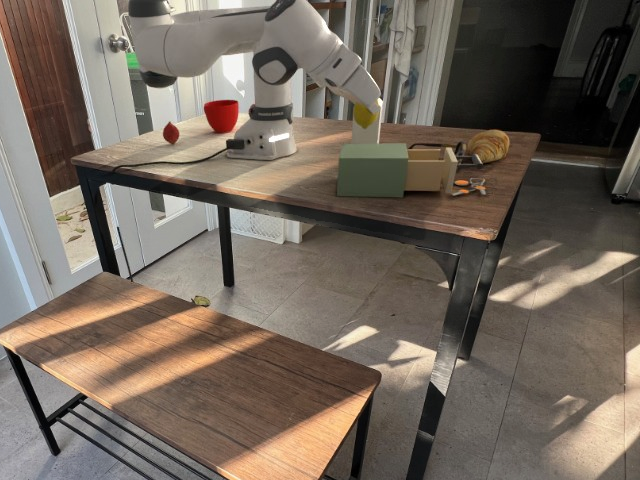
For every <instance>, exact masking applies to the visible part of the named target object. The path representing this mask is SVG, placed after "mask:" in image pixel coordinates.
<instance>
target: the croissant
mask: <svg viewBox="0 0 640 480" xmlns="http://www.w3.org/2000/svg"><path fill="white" fill-rule="evenodd" d="M509 147H510V137H509V136H508V134H506V133H505V132H504V131H502V130H501V129H489V130H483V131H482V132H479V133H477V134H475V135H474V136H473V137H472V138H471V139H470V140H468V143H467V149H468V153H469V156H472V155H473V154H477V155H478V157H479V159H480V160H481V162H482V164H486V163H491V162H497V161H499V160H501V159H504V158H505V157H507V154H508V151H509Z"/></svg>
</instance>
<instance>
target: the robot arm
mask: <svg viewBox="0 0 640 480" xmlns="http://www.w3.org/2000/svg"><path fill="white" fill-rule="evenodd" d="M127 6H128V7H127V12H128V16H129V24H130V33H131V42H132V45H133V48H134V54H135V58H136V61H137V64H138V65H137V66H138V68H139V71H138V72H139V75H140V78H141V81H142V82H143V83H144V85H146V86H147V87H149V88H154V89H165V88H168V87H171V86H173V85H174V84H175V83H176V82H177V80H178V78H187V79H189V78H195V77H200V76H202V75H204V74H205V73H207V72H208V71H209V70H210V69H211V68H212V67H213V65H214V64H215V63H216V62H217V61H218V60H219V59H220V58H221V57H222V56H233V55H239V54H240V55H241V54H248V53H252V54H253V55H252V56H253V57H252V58H251V65H252V68H253V90H254V91H253V92H254V103H253V104H251V105H250V107H249V108H248V117H249V119H248V120H247V121H246V122H244V123H243V124H242V125H241V126H240V127H239V128H238V129H237V130H236V131H235V132H234V135H233V138H228V139H226V140H225V148H223V149H221V150H219V151H217V152H215V153H214V154H212V155H210V156H206V157H204V158H200V159H196V160H191V161H190V160H189V161H166V160H164V161H163V160H162V161H160V160H159V161H151V162H150V161H149V162H148V161H147V162H143V163H136V164H135V163H134V164H120V165H117V166H115V167H114V168H113V169H112V170H111V171H110V173H111V174H113V173H115V172H116V171H117V170H118V169H121V168H138V167H144V166H151V165H162V164H163V165H164V164H165V165H175V166H176V165H177V166H179V165H180V166H181V165H190V164H197V163H202V162H205V161H209V160H210V159H213V158H215V157H217V156H219V155H220V154H222V153H224V152H226V157H227V158H230V159H246V160H259V161H260V160H261V161H272V160H276V159H279V158H283V157H286V156H291V155H293V154H295V153H296V152H297V151H298V148H297V146H296V141H295V136H294V128H293V121H294V103H293V102H292V78H293V76H294V75H295V74H296V72H297V71H298V70H301V69H303V71H304V72H305V73H306V74H307V75H308V76H309V77H310V78H311V79H312V81H313V82H314V83H315V84H316V85H317V86H318V87H319V88H327V89H329V90H330V92H332V93H333V94H334V95H335V96H338V97H341V98H343V99H346V100H349V101H350V102H351V103H352V104H353V105H355V103H358V104H361V105H363V106H366V107H367V110H368V111H369V112H370V113H372V114H376V113H377V112H378V111H379V109H380V108H379V106H378V105H377V104H376V101H377V100H378V98H380V97H381V96H382V92H381V89H380V87H379V86H378V84H377V83H376V82H375V80H374V78H373V77H372V76H371V74H370V73H369V71H367V70H366V68H365V67H364V66H363V65H362V64H361V63H363V60H362V58H361V57H360V56H359V55H358V54H357V53H356V52H355V51H352V50H351V49H350V48H349V47H348V46H347V45H346V44H345V43H344V42H343V41H342V40H341V38H340V37H339V36H338V35H337V34H336V33H335V32H333V31H332V30H331V29H330V28H328V25H327V23H326V21H325V19H324V18H323V17H322V15H320V13H319V12H318V11H317V10H316V9H315V7H314V6H312V4H311V3H310V2H309V1H307V0H275V2H274V3H273V4H271V5H264V6H263V5H262V6H249V7H246V6H245V7H235V8H219V9H218V8H216V9H201V10H191V11H184V12H180V13H176V14H172V15H171V13H173V12H176V8H175V7H173V6H172V5H171V4H170V2H169V0H128V5H127ZM116 229H117V230H116V231H117V234H118V235H117V236H118V239H119V242H120V246H121V250H122V253H123V257H124V260H125V263H126V267H127V272H128V275H129V280H130V283H131V282H133V283H134V280H133V274H132V271H131V268H130V267H131V266H130V263H129V259H128V256H127V252H126V249H125V245H124V241H123V238H122V234H121V230H120V226H116Z"/></svg>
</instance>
